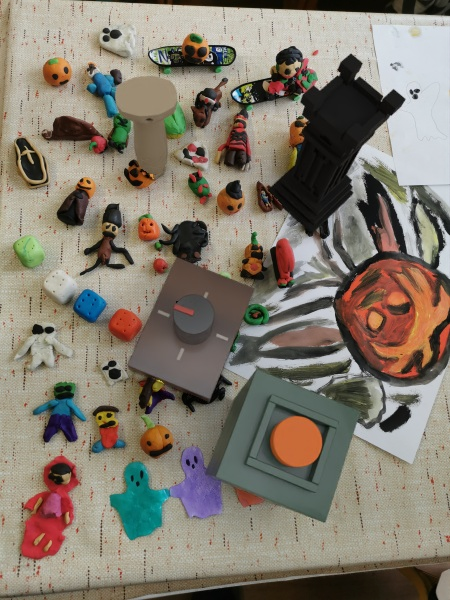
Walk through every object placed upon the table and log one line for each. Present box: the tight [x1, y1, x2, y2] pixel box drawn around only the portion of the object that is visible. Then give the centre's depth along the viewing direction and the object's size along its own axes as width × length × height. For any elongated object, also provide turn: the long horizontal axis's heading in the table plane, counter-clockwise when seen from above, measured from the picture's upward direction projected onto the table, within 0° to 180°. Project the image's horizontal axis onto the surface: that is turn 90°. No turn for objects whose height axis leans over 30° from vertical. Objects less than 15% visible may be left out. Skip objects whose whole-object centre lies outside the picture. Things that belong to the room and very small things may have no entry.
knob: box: [173, 294, 214, 344], centre depth 61 cm, size 4×4×5 cm
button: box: [270, 416, 322, 467], centre depth 41 cm, size 4×4×2 cm
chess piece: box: [267, 53, 407, 235], centre depth 64 cm, size 8×8×20 cm
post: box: [204, 368, 361, 524], centre depth 53 cm, size 9×9×22 cm
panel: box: [127, 257, 255, 403], centre depth 65 cm, size 14×10×3 cm
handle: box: [114, 75, 178, 180], centre depth 65 cm, size 5×6×15 cm
